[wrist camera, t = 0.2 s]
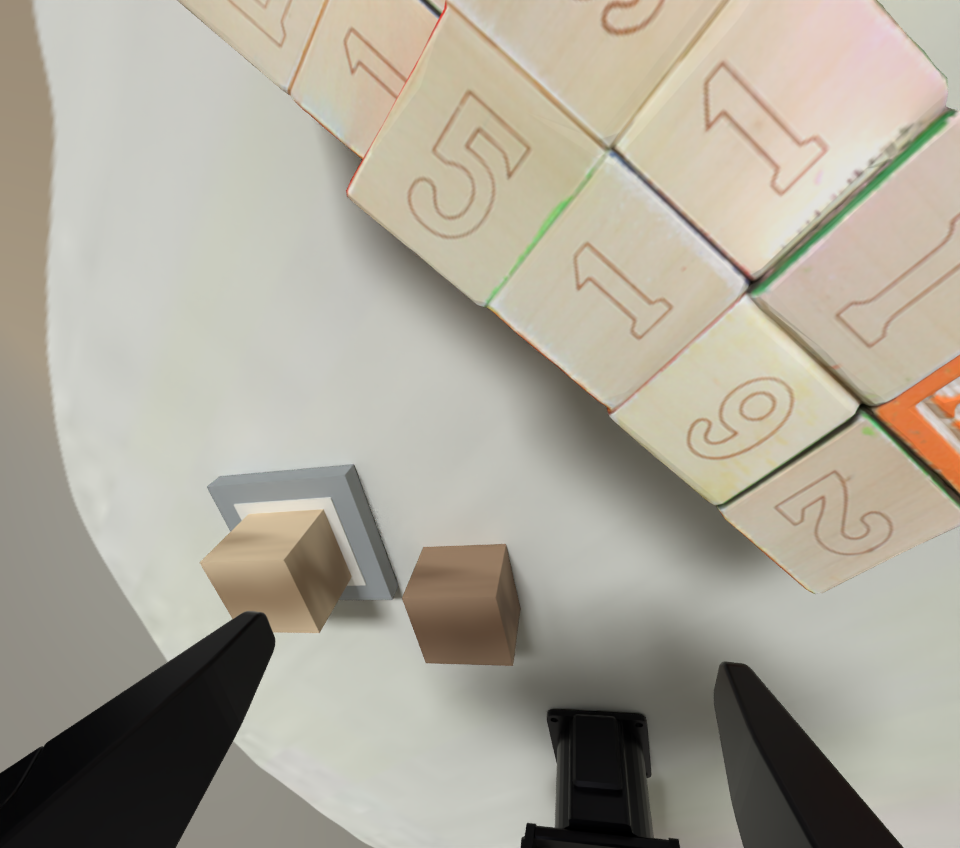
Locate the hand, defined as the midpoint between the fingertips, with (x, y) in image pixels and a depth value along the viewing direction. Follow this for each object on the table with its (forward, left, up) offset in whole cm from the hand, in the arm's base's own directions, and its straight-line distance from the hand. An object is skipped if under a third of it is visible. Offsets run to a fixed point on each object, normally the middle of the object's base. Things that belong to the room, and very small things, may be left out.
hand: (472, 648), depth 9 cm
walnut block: (-12, +6, -14) cm, 19 cm away
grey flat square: (-8, +15, -14) cm, 22 cm away
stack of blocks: (+9, -2, -15) cm, 17 cm away
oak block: (-8, +15, -13) cm, 21 cm away
